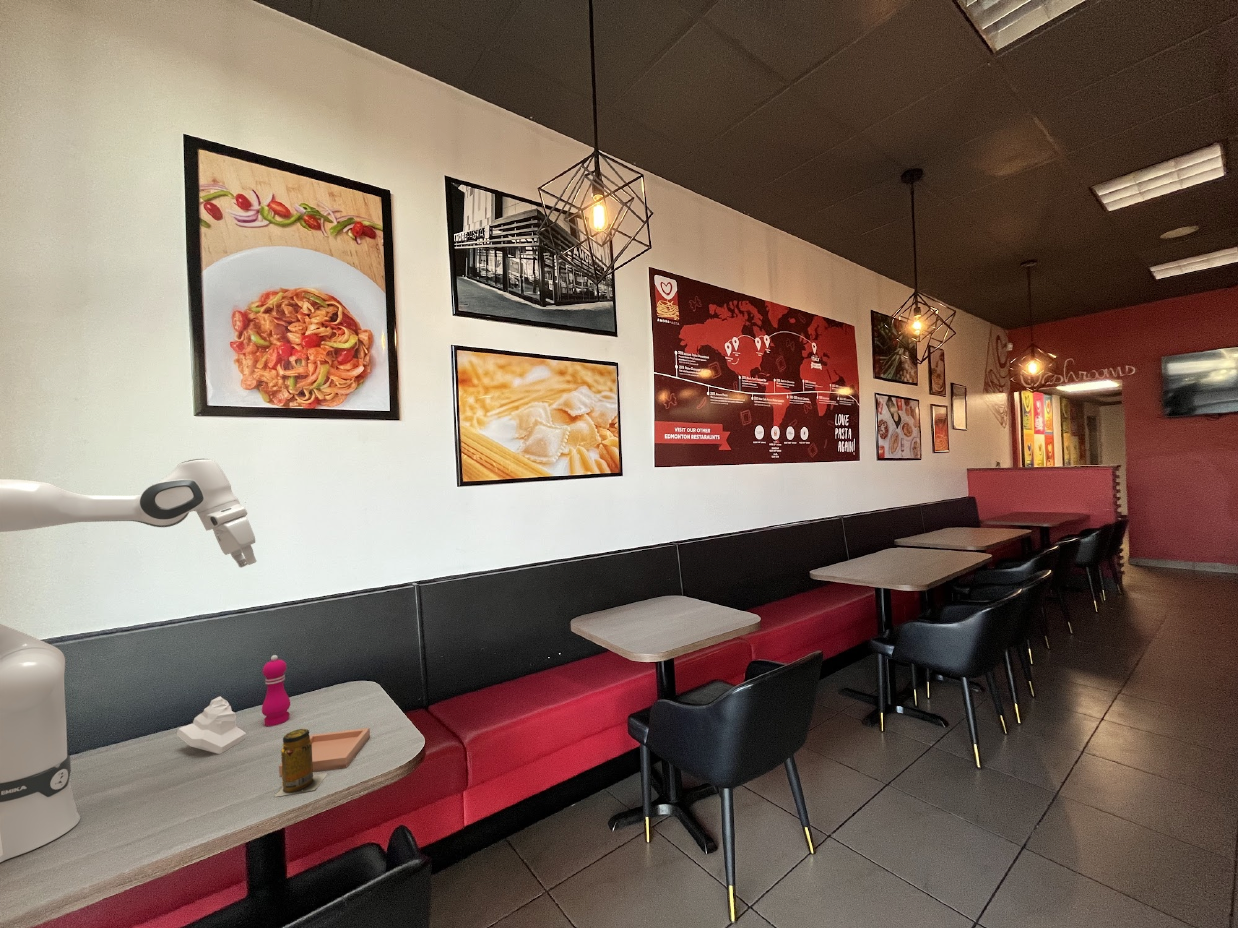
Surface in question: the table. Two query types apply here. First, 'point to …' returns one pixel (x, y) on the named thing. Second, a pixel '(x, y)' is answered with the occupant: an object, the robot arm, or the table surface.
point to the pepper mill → (275, 693)
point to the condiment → (298, 764)
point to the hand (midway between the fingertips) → (248, 565)
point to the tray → (336, 748)
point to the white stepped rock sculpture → (213, 728)
